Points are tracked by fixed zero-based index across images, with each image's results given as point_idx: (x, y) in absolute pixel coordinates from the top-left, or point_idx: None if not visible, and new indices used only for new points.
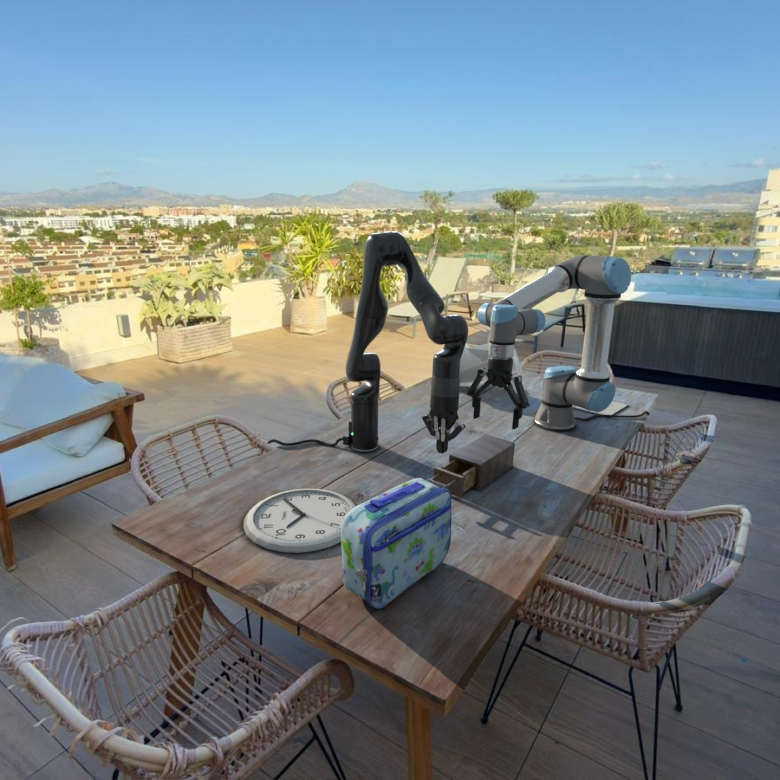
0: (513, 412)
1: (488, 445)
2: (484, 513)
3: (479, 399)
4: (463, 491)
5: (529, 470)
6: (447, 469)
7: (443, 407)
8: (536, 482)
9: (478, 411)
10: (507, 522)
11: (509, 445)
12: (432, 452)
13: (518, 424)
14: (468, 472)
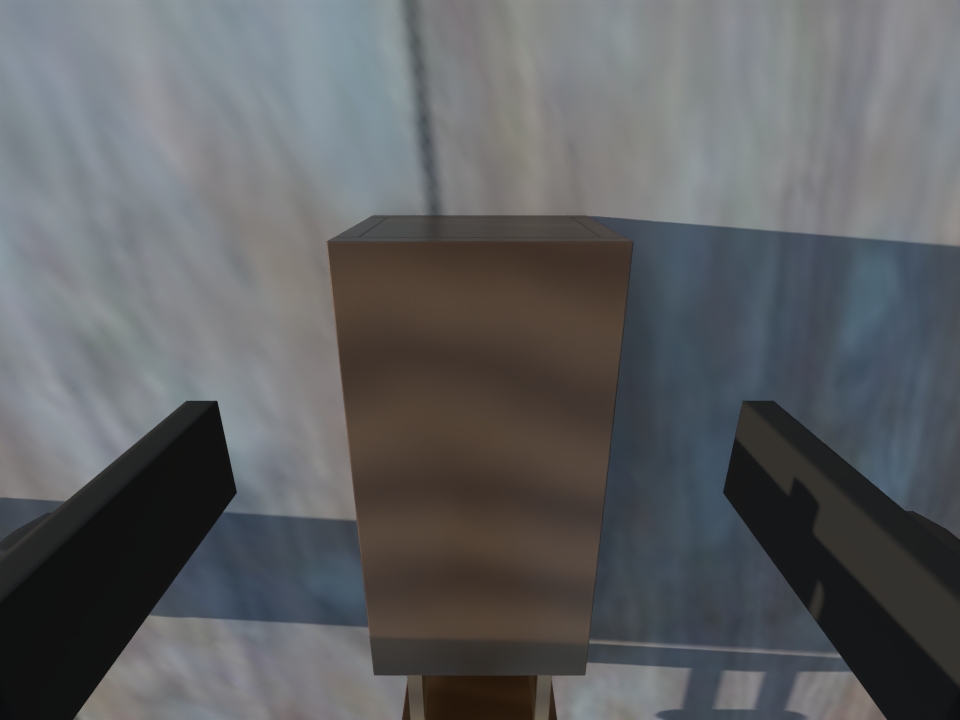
0: (862, 685)
1: (481, 433)
2: (660, 665)
3: (19, 649)
4: None
5: (698, 197)
6: (426, 681)
7: None
8: (777, 319)
9: (179, 484)
10: (753, 665)
11: (615, 327)
12: (114, 370)
13: (793, 419)
14: (549, 703)
